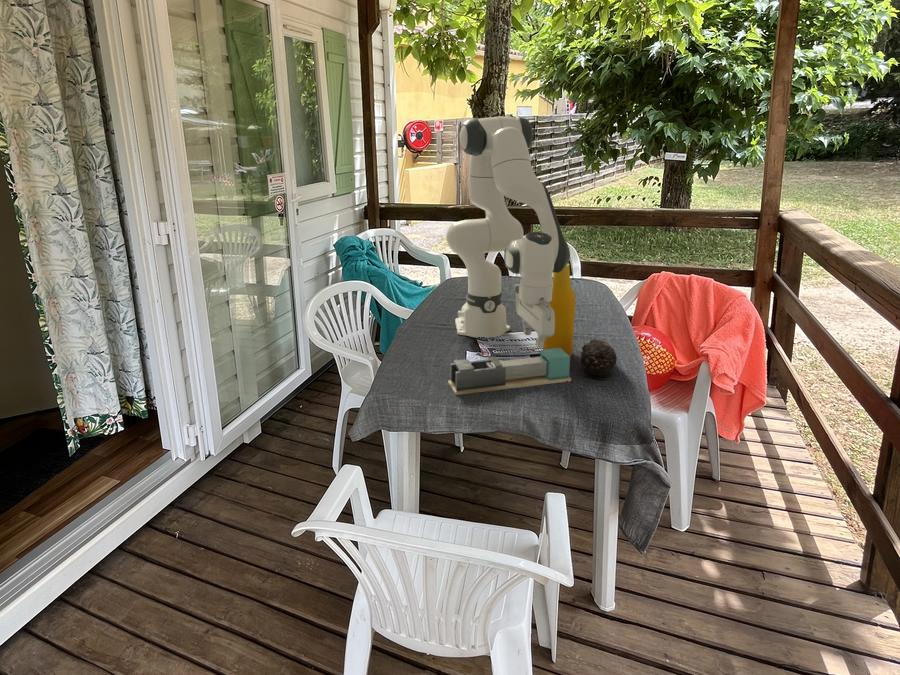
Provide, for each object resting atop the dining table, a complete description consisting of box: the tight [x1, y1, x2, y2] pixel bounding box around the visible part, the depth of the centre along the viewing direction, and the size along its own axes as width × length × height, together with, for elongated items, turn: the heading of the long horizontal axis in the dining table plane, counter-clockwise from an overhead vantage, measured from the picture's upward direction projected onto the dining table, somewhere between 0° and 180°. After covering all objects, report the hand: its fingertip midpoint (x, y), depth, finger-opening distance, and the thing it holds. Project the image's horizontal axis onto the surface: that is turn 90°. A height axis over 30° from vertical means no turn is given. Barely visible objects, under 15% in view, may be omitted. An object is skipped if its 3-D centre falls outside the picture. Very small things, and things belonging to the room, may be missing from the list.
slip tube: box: [486, 356, 549, 380], centre depth 178 cm, size 4×20×4 cm, turn 104°
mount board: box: [447, 375, 572, 396], centre depth 179 cm, size 8×34×1 cm, turn 104°
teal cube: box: [539, 348, 571, 380], centre depth 181 cm, size 7×6×7 cm
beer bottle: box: [542, 263, 576, 357], centre depth 193 cm, size 9×9×29 cm
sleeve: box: [449, 355, 506, 391], centre depth 176 cm, size 7×14×6 cm, turn 104°
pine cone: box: [580, 339, 618, 381], centre depth 185 cm, size 10×18×10 cm, turn 177°
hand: (533, 340), depth 177 cm, fingers open, 8 cm apart
